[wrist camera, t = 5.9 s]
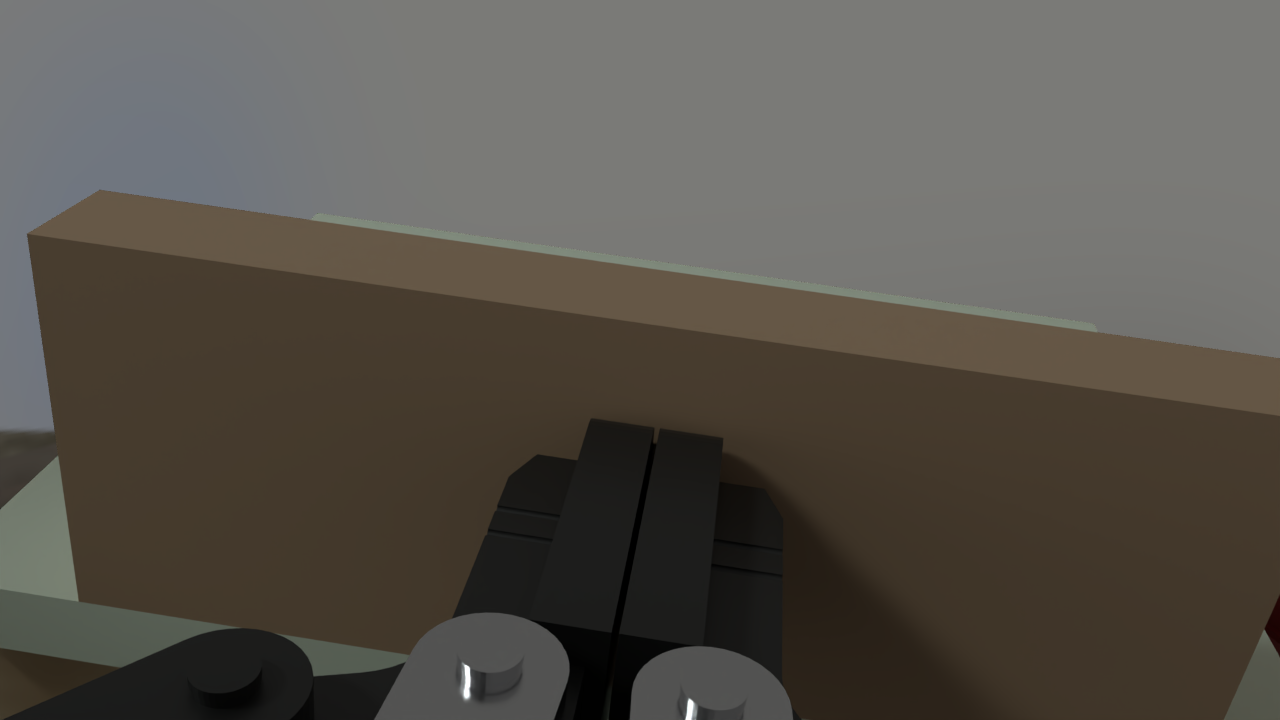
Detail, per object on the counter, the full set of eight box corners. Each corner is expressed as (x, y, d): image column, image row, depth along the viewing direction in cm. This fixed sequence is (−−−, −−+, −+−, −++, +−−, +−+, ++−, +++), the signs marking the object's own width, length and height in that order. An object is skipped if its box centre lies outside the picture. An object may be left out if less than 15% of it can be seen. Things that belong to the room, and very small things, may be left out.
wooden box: (44, 1037, 20) (-39, 624, 16) (329, 552, 32) (324, 250, 28) (1113, 1232, 19) (1317, 844, 15) (983, 655, 31) (1075, 358, 27)
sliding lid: (-60, 638, 15) (-151, 207, 13) (318, 252, 28) (313, -7, 25) (1334, 867, 15) (1557, 456, 12) (1081, 362, 27) (1161, 105, 24)
